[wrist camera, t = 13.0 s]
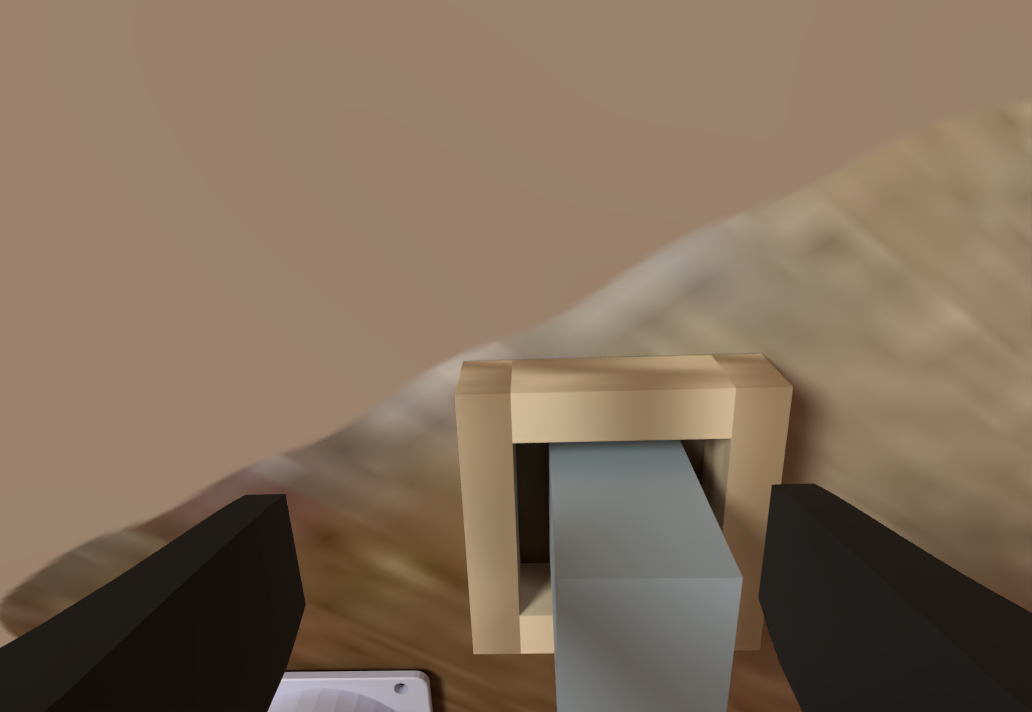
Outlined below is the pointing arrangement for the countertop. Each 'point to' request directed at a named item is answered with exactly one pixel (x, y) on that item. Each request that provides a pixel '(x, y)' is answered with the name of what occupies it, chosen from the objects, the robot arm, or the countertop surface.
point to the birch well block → (611, 417)
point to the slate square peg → (638, 581)
